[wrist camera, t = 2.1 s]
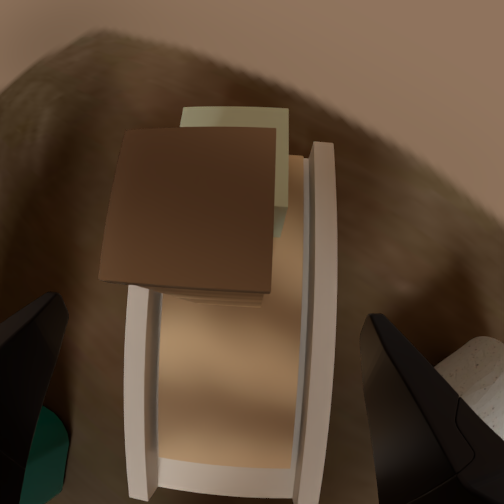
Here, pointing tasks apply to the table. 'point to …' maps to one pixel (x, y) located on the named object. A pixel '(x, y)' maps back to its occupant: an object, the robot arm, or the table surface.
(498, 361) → the ceramic mug
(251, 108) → the block
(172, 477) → the lane board
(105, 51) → the table surface
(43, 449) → the green bottle
